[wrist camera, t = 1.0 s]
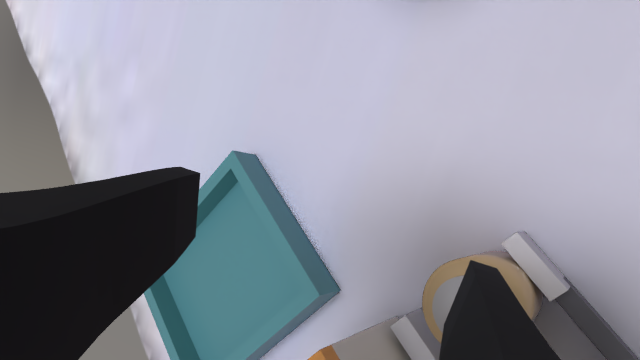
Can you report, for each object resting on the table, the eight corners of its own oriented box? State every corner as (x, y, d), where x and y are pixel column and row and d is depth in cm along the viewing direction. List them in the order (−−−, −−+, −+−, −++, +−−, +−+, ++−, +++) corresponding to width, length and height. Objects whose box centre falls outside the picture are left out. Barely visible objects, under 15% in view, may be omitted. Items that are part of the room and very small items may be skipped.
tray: (340, 290, 24) (319, 295, 23) (214, 396, 29) (189, 407, 27) (255, 154, 29) (232, 150, 27) (158, 265, 34) (133, 267, 32)
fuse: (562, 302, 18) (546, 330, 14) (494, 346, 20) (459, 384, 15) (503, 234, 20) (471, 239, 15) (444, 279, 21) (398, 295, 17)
